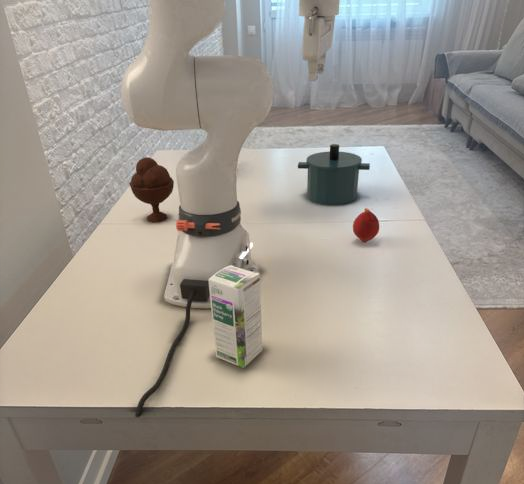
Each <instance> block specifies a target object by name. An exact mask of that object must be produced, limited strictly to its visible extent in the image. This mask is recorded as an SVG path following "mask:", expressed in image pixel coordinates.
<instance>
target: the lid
mask: <svg viewBox="0 0 524 484" xmlns="http://www.w3.org/2000/svg"><path fill="white" fill-rule="evenodd" d="M362 161H363V159H362V157H361V156H360V155H358V154H355V153H352V152H346V151H340V144H337V143H332V144H329V151H322V152H320V151H319V152H315V153H313V154H310V155H308V156H307V157H306V161H305V162H307V164H308V165H310V166H312V167H315V168H320V169H327V170H341V169H349V168H353V167H356V166H358V165H360V164H361V163H362Z"/></svg>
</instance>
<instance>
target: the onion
mask: <svg viewBox="0 0 524 484" xmlns="http://www.w3.org/2000/svg"><path fill="white" fill-rule="evenodd" d="M352 231H353V234H354V236H356V237H357V239H359V240H360V241H361V242H362V243H367V242H369V241H372V240H373V239H374V238H375V237H376V236H377V235H378V234H379V231H380V222H379V218H378V217H377V216H376V215H375V214H374V213H373V212H372V211H371V210H370V208H368V207H365V208H364V211H362V212H361V213H359V214H358V215H357V217H356V218H355V219H354V221H353V224H352Z"/></svg>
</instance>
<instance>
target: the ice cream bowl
mask: <svg viewBox="0 0 524 484" xmlns="http://www.w3.org/2000/svg"><path fill="white" fill-rule="evenodd" d="M128 184H129V186H130V189H131V192H132V194H133V196H134V197H135V198H136V199H137V200H138V201H140V202H142V203H144V204H147V205H150V206H151V209H152V212H151V213H150V214H148V216H146V221H147V222H148V223H152V224H158V223H162V222H166V221H167V220H168V219H169V217H168V215H167V214H166V213H164V212H162V211H160V204H161V203H163V202H164V201H166V200H167V199H168V198H169V197H170V196H171V195H172V194H173V191H174V188H175V187H174V186H175V185H174V184H175V181H174V179H173V178H172V177H171V174H170V172H169V171H168V169H167V168H166V167H164V166H163V165H160V164H158V163H157V161H156V160H155V159H153V158H152V157H147V156H146V157H142V158H141V159H139V160H138V161H137V162H136V166H135V173H134V174H133V175H132V176H131V179H130V182H128Z"/></svg>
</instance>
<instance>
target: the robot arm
mask: <svg viewBox="0 0 524 484" xmlns="http://www.w3.org/2000/svg"><path fill="white" fill-rule="evenodd" d="M340 1H341V0H298V16H299V17H304V21H303V27H302V28H303V29H302V49H301V57H302V60H303V61H307V69H308V80H309V81H310V82H316V81H317V80H318V77H319V75H320V74H323V73H324V72H325V63H326V58H327V52H328V51H329V50H330V49H331V47H332V43H333V38H334V37H333V36H334V30H335V22H336V21H335V20H336V16H338V15H340ZM147 2H148V13H149V15H148V17H149V19H148V20H149V22H148V29H147V35H146V39H145V43H144V45H143V47H142V49H141V51H140V53H139V54H138V55H137V57H136V58H135V59H134V60H133V61H132V62H131V63H130V64H129V65H128V66H127V68H126V69H125V70H124V73H123V74H122V77H121V81H120V99H121V103H122V106H123V109H124V110H125V113H126V114H127V116H128V118H129V119H130V120H131V121H132V122H133V123H134V124H135V125H136V126H137V127H140V128H144V129H150V130H157V131H163V132H168V131H185V130H186V131H187V130H188V131H189V130H202V131H203V130H204V131H205V132H206V137H205V139H204V140H203V142H201V143H200V144H199V145H197V146H196V147H194V148H192V149H190V150H189V151H187V152H186V153H185V154H184V155H183V156H181V158H179V160H178V163H177V164H176V169H175V170H176V171H175V174H176V182H177V183H176V184H177V190H178V197H179V205H178V214H177V215H178V216H177V217H178V218H177V220H176V224H175V227H176V230H177V238H176V244H175V251H174V257H173V262H172V263H171V267H170V271H169V275H168V279H167V283H166V286H165V291H164V295H163V298H164V302H166V303H169V304H171V305H173V306H177V307H184V308H185V319H184V322H183V325H182V328H181V330H180V331H179V334H177V336H176V338H175V339H174V341H173V342H172V344H171V345H170V348H169V350H168V353H167V356H166V359H165V361H164V364H163V367H162V369H161V372H160V374H159V376H158V378H157V380H156V382H155V383H154V384H153V385H152V386H151V387H150V388H149V389H148V390H146V392H144V394H143V395H142V396H141V397H140V399H139V401H138V404H137V406H136V409H135V416H134V417H135V418H140V417H141V416H142V412H143V408H144V405H145V404H146V402H147V401H148V399H149V398H150V397H151V396H152V395H153V394H154V393H156V391H158V389H159V388H160V386H162V383H163V381H164V379H165V377H166V375H167V373H168V370H169V368H170V365H171V361H172V359H173V356H174V353H175V351H176V349H177V346H178V345H179V343H180V341H181V340H182V339H183V337H184V336H185V334H186V332H187V330H188V327H189V324H190V320H191V309H192V308H193V309H211V301H210V291H209V279H210V278H211V277H212V276H213V275H214V274H216V273H217V272H219V271H220V270H222V269H224V268H225V267H228V266H230V265H232V266H235V267H238V268H241V269H245V270H248V271H251V272H254V273H260V267H259V265H258V264H256V263H254V262H253V261H252V251H251V250H252V248H253V247H254V245H253V242H250V233H249V232H248V231H247V230H246V228H244V227H243V225H242V223H241V221H242V218H241V217H242V210H241V206H240V201H239V200H238V190H237V188H238V187H237V186H238V184H237V181H238V180H237V177H238V176H237V175H238V173H237V172H238V163H239V157H240V154H241V151H242V148H243V146H244V144H245V143H246V140H247V139H248V137H249V136H250V134H251V133H252V132H253V130H254V129H255V128H256V127H258V126H259V124H261V123H262V122H263V121H264V120H265V119H266V118H267V116H268V115H269V113H270V111H271V108H272V106H273V103H274V97H275V86H274V81H273V76H272V75H271V73H270V70H269V69H268V67H267V66H266V64H265V63H264V62H263V61H262V60H261V59H258V58H253V57H249V56H242V55H236V54H225V55H224V54H223V55H222V54H221V55H202V56H201V55H199V56H196V55H191V54H190V53H191V50H192V49H193V48H194V47H195V46H196V45H197V44H198V43H200V42H202V41H203V40H205V39H206V38H208V37H209V36H211V35H213V33H214V32H215V31H216V30H217V29H218V28H219V26H220V25H221V23H222V21H223V19H224V18H225V17H224V16H225V11H226V0H147Z"/></svg>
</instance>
